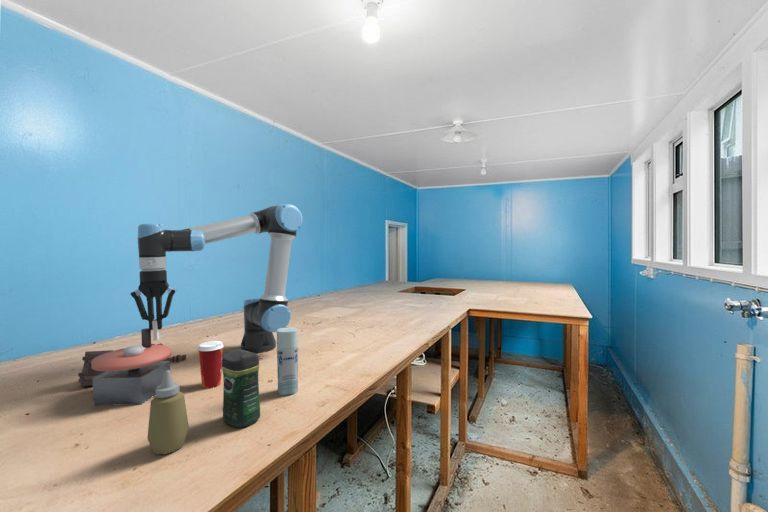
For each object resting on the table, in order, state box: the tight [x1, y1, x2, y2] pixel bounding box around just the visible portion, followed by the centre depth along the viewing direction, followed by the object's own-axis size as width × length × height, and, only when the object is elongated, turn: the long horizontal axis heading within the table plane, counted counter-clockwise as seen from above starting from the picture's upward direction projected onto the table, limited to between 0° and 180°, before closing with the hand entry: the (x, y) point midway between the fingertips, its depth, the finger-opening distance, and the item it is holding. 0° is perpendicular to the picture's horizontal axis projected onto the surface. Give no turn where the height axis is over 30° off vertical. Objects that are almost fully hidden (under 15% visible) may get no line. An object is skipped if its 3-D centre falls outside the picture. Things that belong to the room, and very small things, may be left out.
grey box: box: [92, 361, 171, 406], centre depth 106 cm, size 14×14×8 cm
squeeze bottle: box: [147, 369, 190, 455], centre depth 77 cm, size 8×8×18 cm
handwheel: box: [91, 327, 172, 372], centre depth 105 cm, size 20×20×10 cm
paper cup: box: [197, 340, 225, 389], centre depth 112 cm, size 8×8×14 cm
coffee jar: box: [222, 348, 261, 428], centre depth 90 cm, size 10×8×19 cm
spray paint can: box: [276, 326, 299, 397], centre depth 107 cm, size 6×6×20 cm
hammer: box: [77, 349, 187, 387], centre depth 124 cm, size 7×33×10 cm, turn 145°
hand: (156, 339), depth 114 cm, fingers closed
